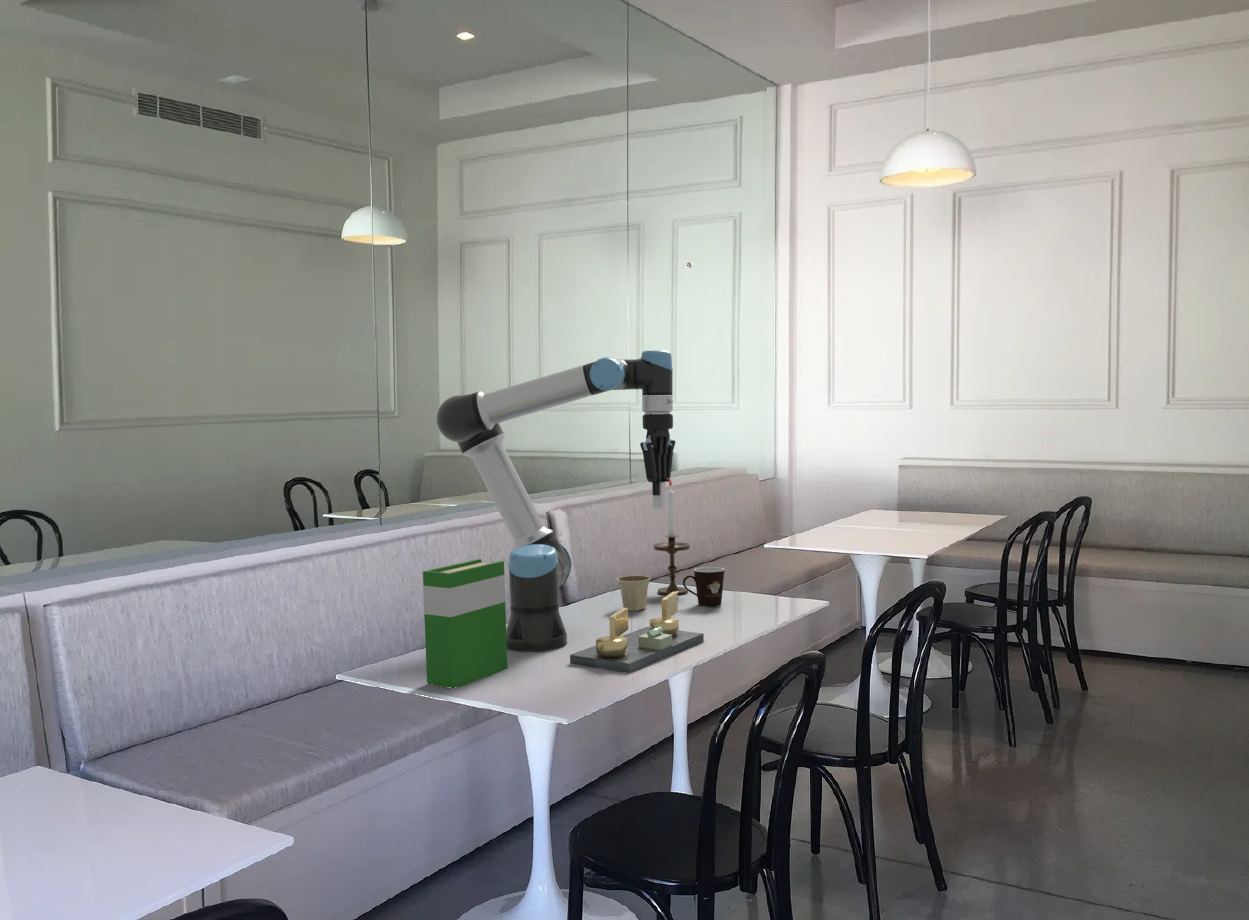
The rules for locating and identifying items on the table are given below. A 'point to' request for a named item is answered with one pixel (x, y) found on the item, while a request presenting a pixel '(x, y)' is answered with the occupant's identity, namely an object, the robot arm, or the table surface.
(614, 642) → the near knob
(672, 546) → the candlestick
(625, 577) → the flower pot
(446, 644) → the hardback book
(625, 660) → the level plate
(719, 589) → the coffee mug
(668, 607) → the far knob
